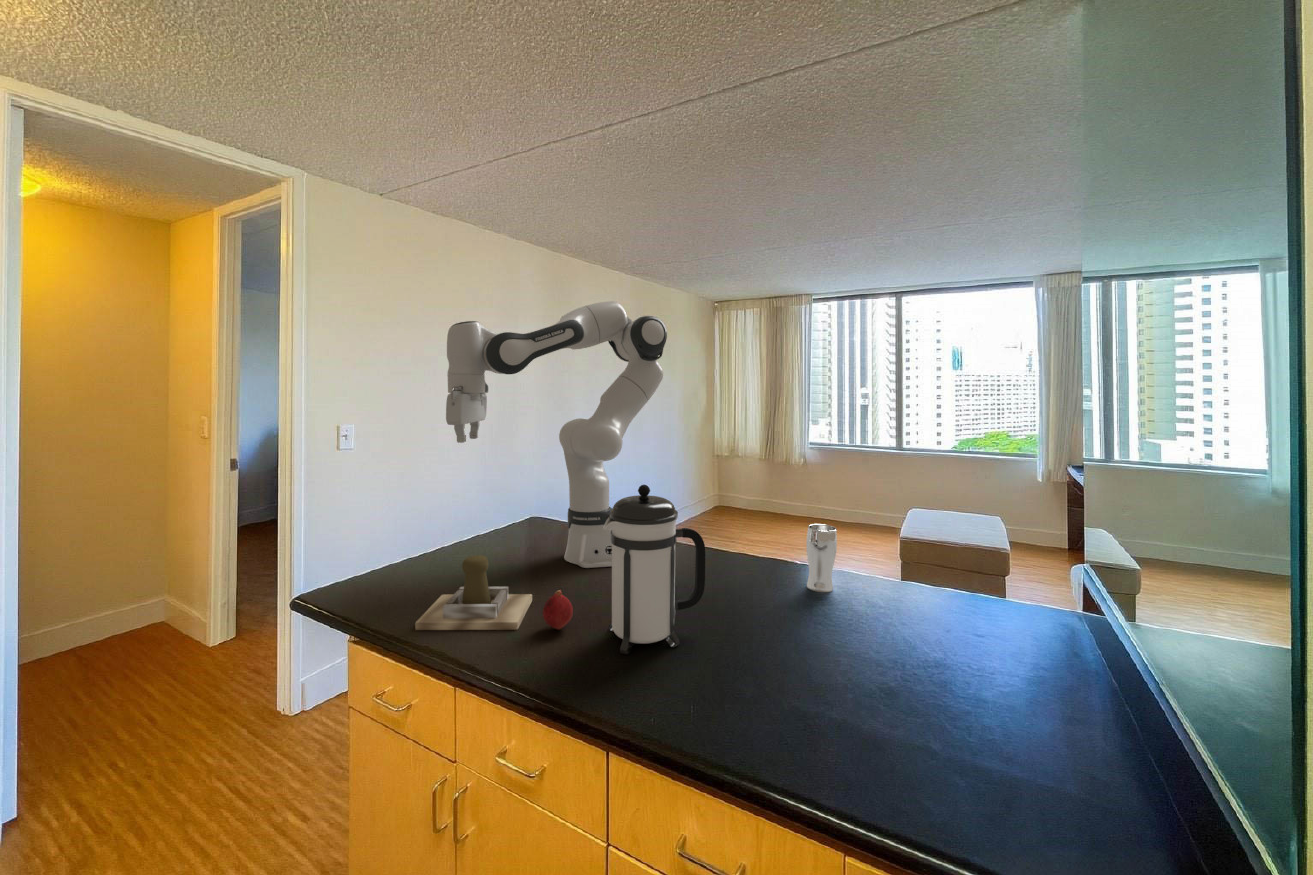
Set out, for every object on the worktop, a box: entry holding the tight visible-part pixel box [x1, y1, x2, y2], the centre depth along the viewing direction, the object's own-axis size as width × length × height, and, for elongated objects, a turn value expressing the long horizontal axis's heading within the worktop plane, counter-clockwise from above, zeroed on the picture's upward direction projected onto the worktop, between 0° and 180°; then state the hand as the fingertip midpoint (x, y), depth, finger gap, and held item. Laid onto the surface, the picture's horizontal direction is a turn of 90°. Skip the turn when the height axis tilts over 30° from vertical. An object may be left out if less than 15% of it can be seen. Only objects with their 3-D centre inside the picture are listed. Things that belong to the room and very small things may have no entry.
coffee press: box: [603, 484, 706, 655], centre depth 99 cm, size 17×16×30 cm
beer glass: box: [806, 523, 838, 594], centre depth 125 cm, size 7×7×15 cm
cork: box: [461, 554, 491, 604], centre depth 109 cm, size 6×6×11 cm
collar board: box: [414, 586, 533, 631], centre depth 109 cm, size 20×14×4 cm
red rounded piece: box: [542, 589, 574, 631], centre depth 103 cm, size 6×6×8 cm
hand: (467, 440), depth 133 cm, fingers open, 8 cm apart
